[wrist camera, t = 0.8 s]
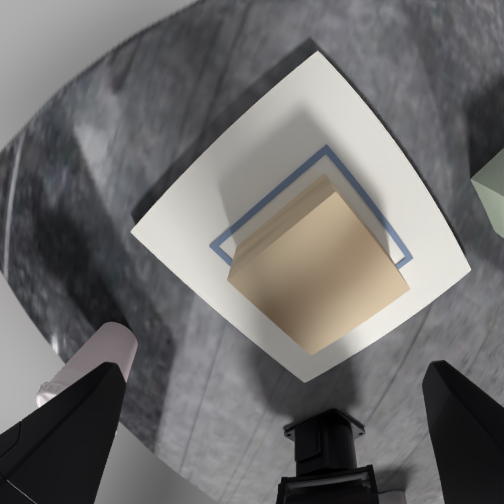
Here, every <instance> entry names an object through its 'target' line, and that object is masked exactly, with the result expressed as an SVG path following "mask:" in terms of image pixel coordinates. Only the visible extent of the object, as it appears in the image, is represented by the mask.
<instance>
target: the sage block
mask: <svg viewBox="0 0 504 504" xmlns="http://www.w3.org/2000/svg"><path fill="white" fill-rule="evenodd" d="M471 181H472V183H473V185H474V187H475V189H476V191H477V193H478V195H479V197H480V199H481V202H482V204H483V206H484V208H485V210H486V212H487V215H488V217H489V219H490V222H491V224H492V226H493V229H494V231H495V232H496V233H498V234H499V235H500V236H501V237H503V238H504V148H503V149H502V150H501V151H500V152H499V153H498V154H497V155H496V156H495V157H493V158H492V159H491V160H490V161H489V162H488V163H487V164H486V165H485V166H484V167H483V168H482V169H481V170H479V171H478V172H477V173H476V174H475V175H474V176H473V177H472V178H471Z"/></svg>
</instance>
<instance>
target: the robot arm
mask: <svg viewBox="0 0 504 504" xmlns="http://www.w3.org/2000/svg"><path fill="white" fill-rule="evenodd" d="M422 389H423V395H424V401H425V407H426V413H427V420H428V427H429V433H430V437H431V441H432V445H433V449H434V454H435V458H436V462H437V467H438V471H439V476H440V481H441V486H442V491H443V497H444V502H445V504H504V408H503V407H502V406H501V405H500V404H499V403H497V402H496V401H495V400H494V399H492V398H491V397H490V396H489V395H488V394H486V393H485V392H484V391H483V390H481V389H480V388H479V387H478V386H476V385H475V384H474V383H473V382H471V381H470V380H469V379H468V378H466V377H465V376H464V375H463V374H461V373H460V372H459V371H458V370H456V369H455V368H454V367H453V366H451V365H450V364H449V363H448V362H446V361H445V360H436V361H432V362H431V363H430V364H429V366H428V369H427V371H426V374H425V376H424V379H423V383H422ZM125 391H126V381H125V379H124V376H123V374H122V372H121V370H120V367H119V365H118V364H117V363H114V362H107V361H106V362H103V363H101V364H100V365H99V366H97V367H96V368H94V369H93V370H92V371H90V372H89V373H87V374H86V375H84V376H83V377H82V378H80V379H79V380H77V381H76V382H75V383H73V384H72V385H70V386H69V387H68V388H66V389H65V390H63V391H62V392H61V393H59V394H58V395H56V396H55V397H53V398H52V399H51V400H49V401H48V402H46V403H45V404H44V405H42V406H41V407H39V408H38V409H37V410H35V411H34V412H33V413H31V414H29V415H28V416H27V417H25V418H24V419H22V421H19V422H18V423H17V424H15V425H14V426H12V427H11V428H9V429H8V430H6V431H5V432H3V433H2V434H0V504H94V502H95V498H96V495H97V491H98V488H99V485H100V481H101V478H102V474H103V471H104V468H105V465H106V462H107V458H108V455H109V452H110V449H111V446H112V443H113V440H114V437H115V434H116V430H117V427H118V422H119V418H120V413H121V408H122V404H123V399H124V395H125ZM364 434H365V430H364V429H363V428H362V427H360V426H359V425H358V424H356V423H355V422H353V421H352V420H351V419H349V418H348V417H346V416H345V415H344V414H342V413H341V412H339V411H338V410H336V409H331V410H329V411H327V412H325V413H323V414H321V415H319V416H316V417H314V418H312V419H310V420H308V421H306V422H303V423H301V424H299V425H297V426H295V427H292V428H290V429H288V430H285V431H284V436H285V437H287V438H289V439H290V440H292V441H294V442H295V461H296V477H282V478H281V483H280V484H278V495H277V501H276V504H379V497H378V491H377V486H376V480H375V475H374V470H373V465H372V464H371V465H367V466H365V467H360V468H357V461H356V454H355V446H354V439H356V438H358V437H360V436H363V435H364Z"/></svg>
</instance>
